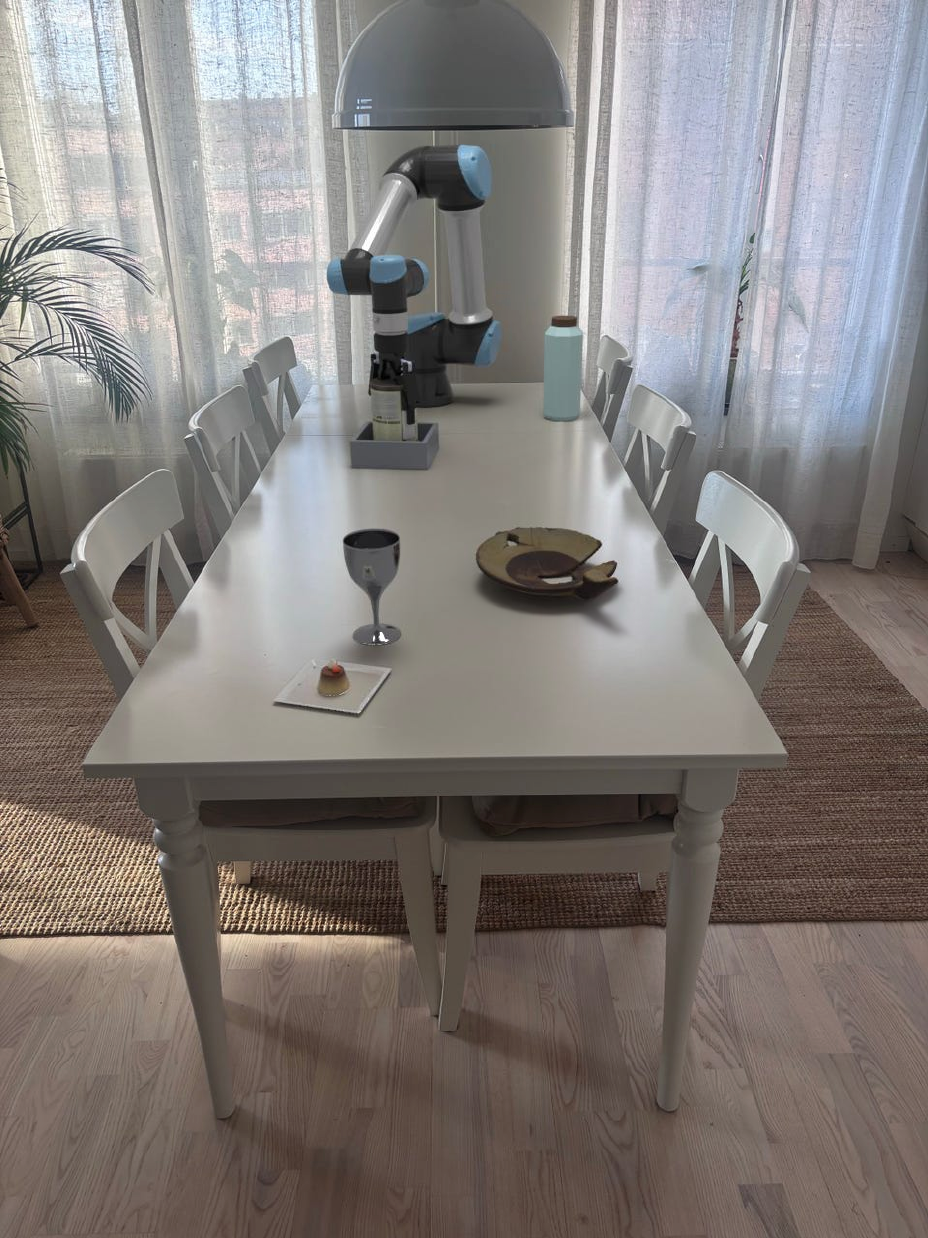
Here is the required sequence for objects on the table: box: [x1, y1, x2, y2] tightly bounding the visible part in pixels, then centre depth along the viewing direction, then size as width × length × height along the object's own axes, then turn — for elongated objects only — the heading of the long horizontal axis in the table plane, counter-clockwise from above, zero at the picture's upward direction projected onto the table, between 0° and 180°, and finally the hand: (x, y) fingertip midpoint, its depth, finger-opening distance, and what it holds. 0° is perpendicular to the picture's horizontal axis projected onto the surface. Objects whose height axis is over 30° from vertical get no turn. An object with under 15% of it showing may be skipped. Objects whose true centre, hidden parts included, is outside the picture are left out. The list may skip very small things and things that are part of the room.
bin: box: [349, 420, 440, 471], centre depth 222 cm, size 17×17×6 cm
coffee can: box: [370, 377, 418, 442], centre depth 218 cm, size 10×10×14 cm
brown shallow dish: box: [475, 526, 619, 601], centre depth 155 cm, size 22×30×8 cm
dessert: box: [272, 657, 392, 715], centre depth 128 cm, size 12×12×5 cm
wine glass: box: [342, 528, 402, 646], centre depth 140 cm, size 8×8×15 cm
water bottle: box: [542, 315, 584, 422], centre depth 248 cm, size 10×10×25 cm
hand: (395, 433), depth 221 cm, fingers closed on coffee can, 10 cm apart
